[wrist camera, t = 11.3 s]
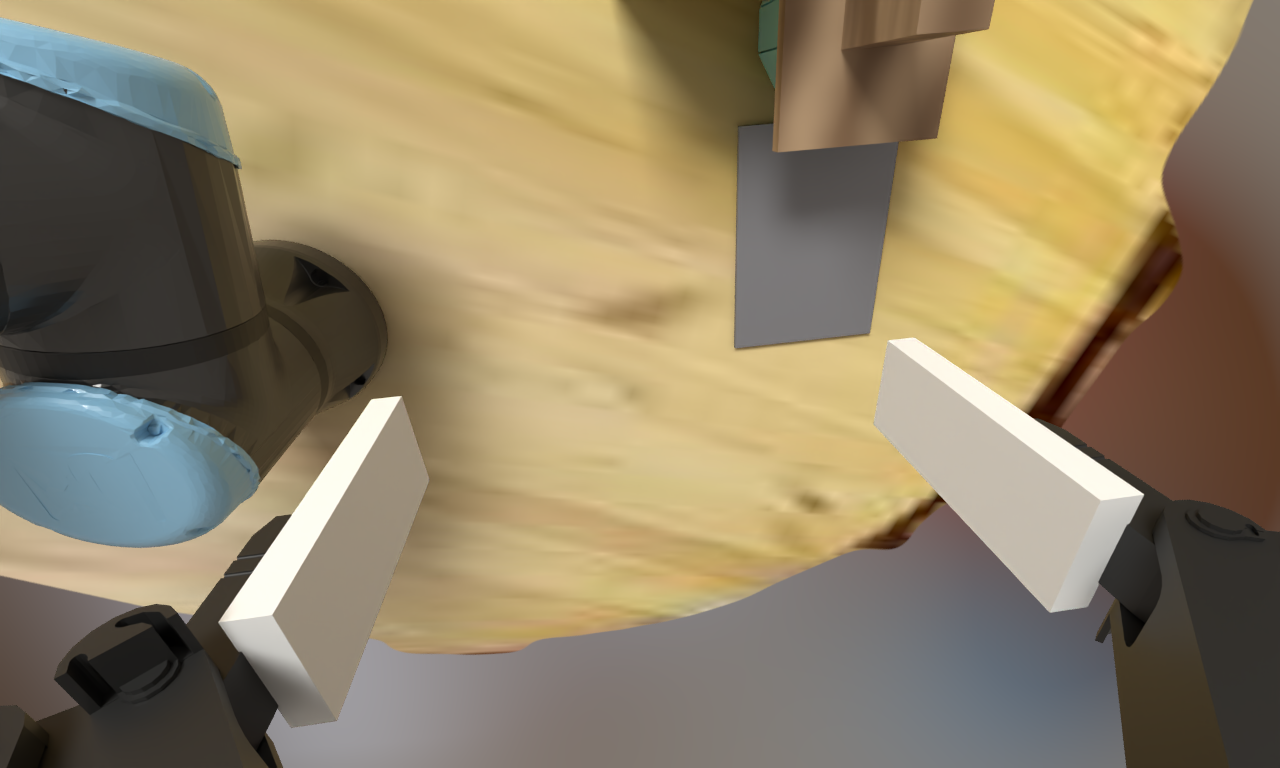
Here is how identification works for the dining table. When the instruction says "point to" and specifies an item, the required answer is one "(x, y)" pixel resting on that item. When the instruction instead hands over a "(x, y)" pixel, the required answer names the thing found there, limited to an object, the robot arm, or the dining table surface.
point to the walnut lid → (865, 69)
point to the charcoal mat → (808, 238)
